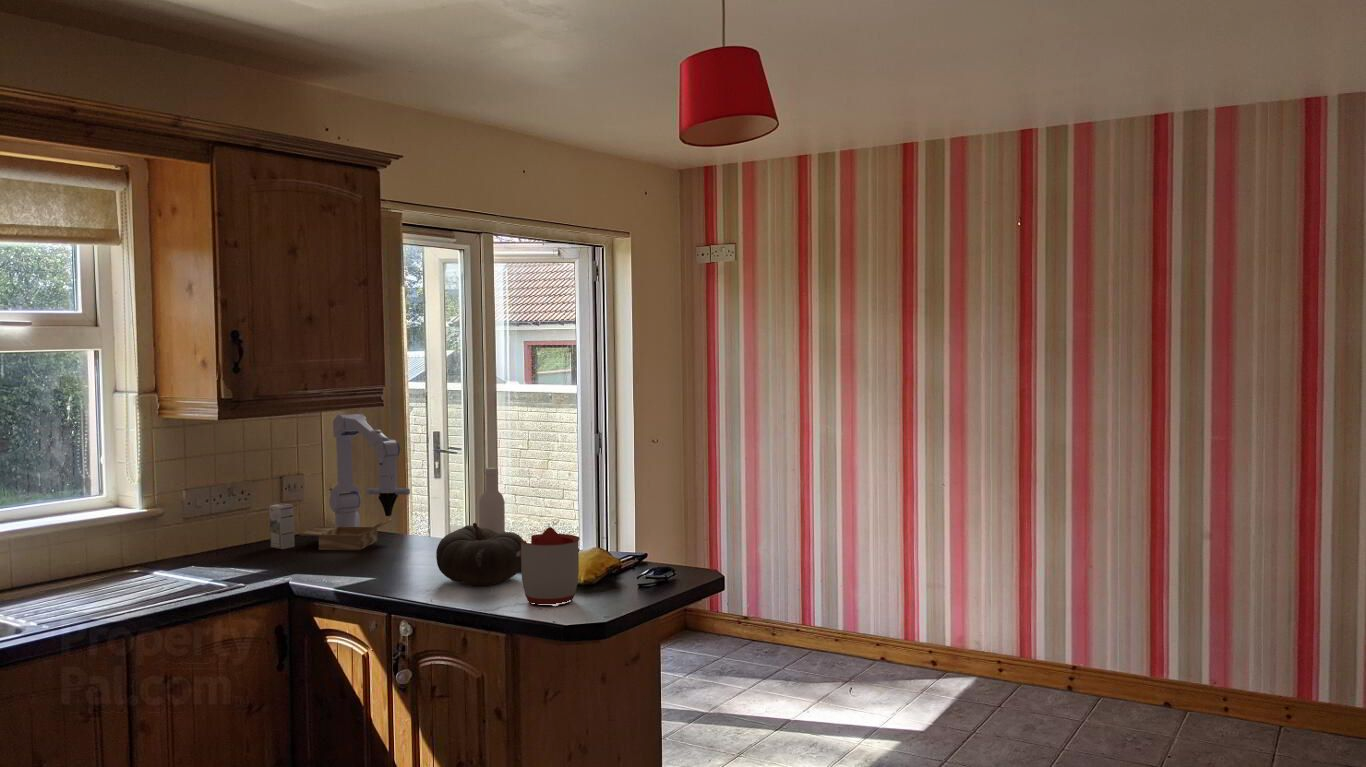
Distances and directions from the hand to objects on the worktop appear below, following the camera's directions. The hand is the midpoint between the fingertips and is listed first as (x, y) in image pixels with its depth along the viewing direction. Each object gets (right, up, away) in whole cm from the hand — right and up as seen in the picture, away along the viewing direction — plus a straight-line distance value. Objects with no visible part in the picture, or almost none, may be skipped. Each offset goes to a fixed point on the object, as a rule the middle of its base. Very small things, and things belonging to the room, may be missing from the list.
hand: (388, 515), depth 353 cm
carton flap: (-4, -4, 0) cm, 5 cm away
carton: (-17, -10, +2) cm, 20 cm away
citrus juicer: (+64, -13, -78) cm, 102 cm away
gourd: (+42, -12, -52) cm, 68 cm away
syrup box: (-35, -11, -2) cm, 37 cm away
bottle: (+41, -12, -30) cm, 52 cm away
